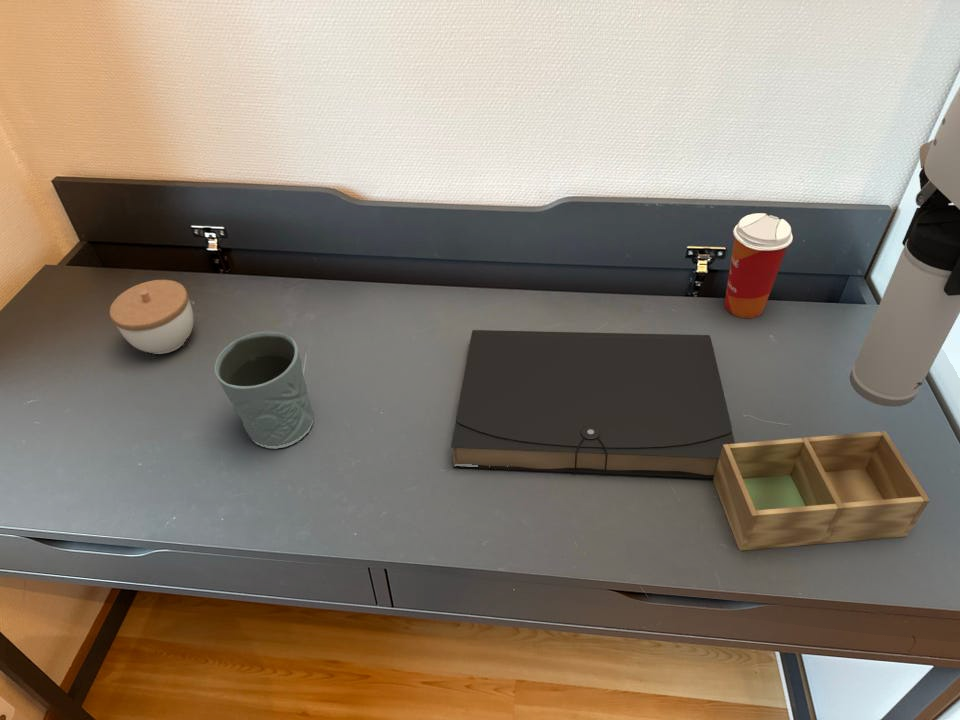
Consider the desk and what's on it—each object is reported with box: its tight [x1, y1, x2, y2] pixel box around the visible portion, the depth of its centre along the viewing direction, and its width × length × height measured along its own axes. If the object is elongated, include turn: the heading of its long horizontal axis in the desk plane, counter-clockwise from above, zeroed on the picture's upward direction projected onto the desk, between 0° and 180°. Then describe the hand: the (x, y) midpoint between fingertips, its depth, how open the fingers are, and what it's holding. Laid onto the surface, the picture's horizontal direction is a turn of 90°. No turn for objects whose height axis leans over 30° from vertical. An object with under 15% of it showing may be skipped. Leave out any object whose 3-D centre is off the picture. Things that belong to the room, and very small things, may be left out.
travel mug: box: [849, 204, 960, 408], centre depth 66 cm, size 6×7×20 cm
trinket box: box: [109, 279, 195, 354], centre depth 103 cm, size 11×11×9 cm
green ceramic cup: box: [213, 331, 314, 446], centre depth 89 cm, size 10×10×12 cm
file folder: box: [450, 329, 736, 479], centre depth 92 cm, size 33×4×24 cm
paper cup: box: [724, 212, 794, 319], centre depth 100 cm, size 8×8×14 cm
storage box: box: [712, 430, 931, 552], centre depth 77 cm, size 18×9×7 cm, turn 94°
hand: (940, 266), depth 62 cm, fingers closed on travel mug, 6 cm apart
